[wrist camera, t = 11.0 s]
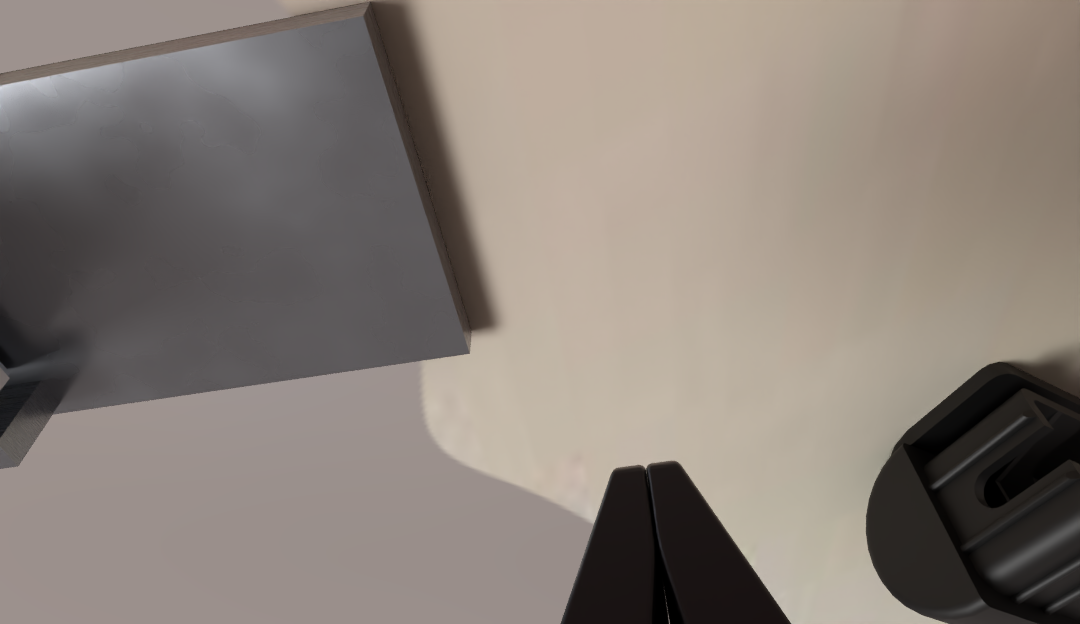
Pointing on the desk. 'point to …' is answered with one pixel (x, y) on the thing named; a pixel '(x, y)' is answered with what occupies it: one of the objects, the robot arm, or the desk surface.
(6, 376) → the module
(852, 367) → the desk surface
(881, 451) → the desk surface
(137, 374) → the rack deck
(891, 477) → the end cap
